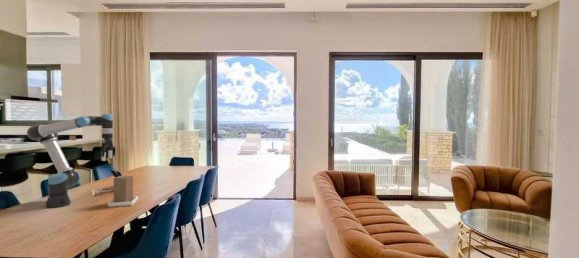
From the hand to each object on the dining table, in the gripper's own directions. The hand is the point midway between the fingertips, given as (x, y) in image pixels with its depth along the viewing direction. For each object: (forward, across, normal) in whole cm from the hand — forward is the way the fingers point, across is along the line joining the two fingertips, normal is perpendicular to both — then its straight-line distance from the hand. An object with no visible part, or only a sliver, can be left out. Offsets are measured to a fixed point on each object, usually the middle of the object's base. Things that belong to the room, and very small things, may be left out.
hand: (107, 159), depth 249 cm
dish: (+33, -11, -17) cm, 39 cm away
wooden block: (+32, -11, -16) cm, 38 cm away
